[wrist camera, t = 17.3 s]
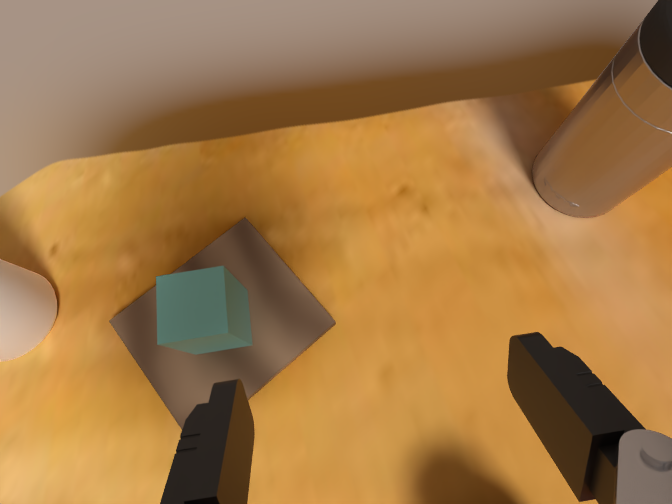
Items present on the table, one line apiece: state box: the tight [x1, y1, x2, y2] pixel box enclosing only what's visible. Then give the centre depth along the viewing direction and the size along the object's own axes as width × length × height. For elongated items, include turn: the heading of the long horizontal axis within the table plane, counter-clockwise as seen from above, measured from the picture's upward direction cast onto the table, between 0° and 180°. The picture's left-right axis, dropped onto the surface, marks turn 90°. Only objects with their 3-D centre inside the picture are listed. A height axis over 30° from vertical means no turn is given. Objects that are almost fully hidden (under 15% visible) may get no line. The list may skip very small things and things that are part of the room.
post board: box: [109, 218, 336, 430], centre depth 37 cm, size 16×14×7 cm
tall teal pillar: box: [156, 266, 252, 355], centre depth 35 cm, size 5×5×8 cm
